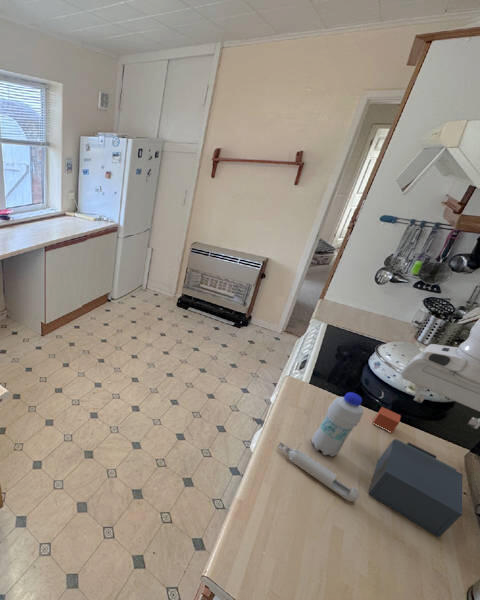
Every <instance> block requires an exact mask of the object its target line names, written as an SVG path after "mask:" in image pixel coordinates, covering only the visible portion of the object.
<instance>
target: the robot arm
mask: <svg viewBox="0 0 480 600" xmlns="http://www.w3.org/2000/svg"><path fill="white" fill-rule="evenodd" d="M468 335H469V336H468V337H467V339H466V340H464V341H463V342H461V343H460V344H459V345H458V346H451V345H442V344H435V343H430V344H428V345H427V346H426V347H424V349H423V351H422V352H419V353H417V354H415V355H414V356H413V357H412V358H411V359H410V360H409V361H408V362H407V364H406V365H405V366H404V367H403V369H402V370H401V372H400V377H401V378H402V379H404V380H405V381H408V382H410V383H412V384H415V385H414V391H415V396H414V398H413V401H415V402H416V403H419V404H422V403H423V401H424V400H425V399H426V397H427V396H426V395H425V394H423V392H422V391H423V390H424V389H426V390H428V391H431V392H433V393H436V394H438V395H440V396H443V397H445V398H447V399H449V400H452V401H454V402H455V403H459V404H460V405H463V406H466V407H467V408H470V409H472V410H475V411H477V412H478V413H479V412H480V317H479V318H478V320H477V321H476V322H475V323H474V325H472V327H471V329H470V331H469V334H468ZM467 426H469V427H471V428H473V429H475V430H477V429H479V427H480V417H479V418H477V417H474V416H472V417H471V418H470V419H469V421H468V422H467Z"/></svg>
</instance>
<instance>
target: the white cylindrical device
mask: <svg viewBox="0 0 480 600" xmlns="http://www.w3.org/2000/svg"><path fill="white" fill-rule="evenodd" d="M301 445H302V442H300V443H299V445H298V447H297V449H296V448H291V446H288V445H287V444H284V443H283V442H282V441H279V443H278V446H277V448H278V449H279V450H280V451H281V452H283V453H284V454H285V455H286V456H288V459H289V460H290V461H291V462H292V463H293V464H295V465H296V466H297V467H299V468H300V469H301V470H303V471H305V472H306V473H307V474H309V475H310V476H312V477H313V478H315V479H316V480H317V481H319V482H320V483H322V484H323V485H324V486H326V487H327V488H329V489H330V490H332V491H333V492H334V493H336V494H337V495H339V496H340V497H342V498H343V499H344V500H347V501H348V502H356V501H357V500H358V499H359V497H360V493H359V491H358V489H357V488H356V487H355V486H354V485H353V486H352V487H351V488H350V487H348V486H347V485H345V484H344V483H342V482H341V481H339V480H338V479H336V478H337V477H338V475H337V474H336V473H334V472H332V471H331V470H330V469H328V468H327V467H325V466H324V465H323V464H322V463H319V462H318V461H316V460H315V459H313V458H312V457H310V456H308V455H307V454H306V453H304V452H303V451H301V450H299V448H300V446H301Z"/></svg>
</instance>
